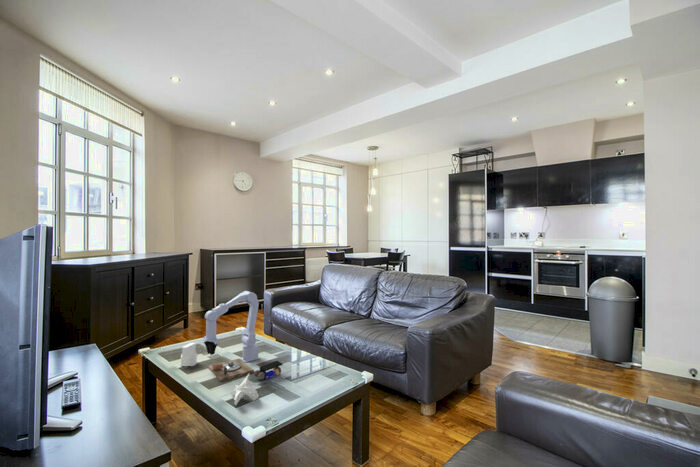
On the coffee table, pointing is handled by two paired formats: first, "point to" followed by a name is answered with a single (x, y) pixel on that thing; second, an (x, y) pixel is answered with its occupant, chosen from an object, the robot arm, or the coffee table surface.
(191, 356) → the cylinder with rectangular tab
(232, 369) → the flange plate
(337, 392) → the coffee table surface
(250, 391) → the figurine
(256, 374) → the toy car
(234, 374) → the base board
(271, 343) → the coffee table surface
